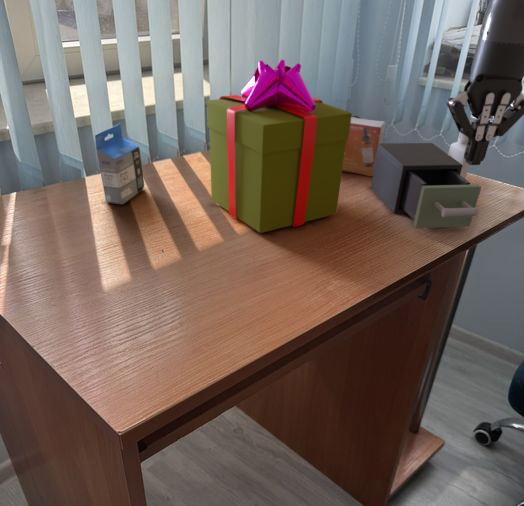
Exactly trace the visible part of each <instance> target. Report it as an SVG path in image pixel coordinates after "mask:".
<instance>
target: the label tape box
mask: <svg viewBox="0 0 524 506" xmlns="http://www.w3.org/2000/svg"><path fill="white" fill-rule="evenodd" d="M122 130H123V129H122V123H117V124H116V125H114V126H111V127H109V128H106V129H105V130H102V131H100V132H98V133H96V134H95V135H94V141H95V149H96V155H97V161H98V166H99V171H100V178H101V182H102V188H103V194H104V199H105V202H106V203H111V204H113V205H114V204H116V205H124V204H126V203H127V202H128V201H130V200H131V199H132V198H134V197H135V196H136V195H138V194H140V193H141V192H142V191H143V190H145V189H146V187H145V181H144V180H145V179H144V173H143V172H144V171H143V166H142V157H141V150H140V147H139V146H138V145H137V144H135V143H133V142H132V141H130V140H128V139H126V138H125V137H123V136H122V135H123V133H122ZM109 135H110V136H111V135H112V137H110V138H108V139H106V138H107V137H108V136H109Z"/></svg>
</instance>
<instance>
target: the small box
mask: <svg viewBox="0 0 524 506" xmlns="http://www.w3.org/2000/svg"><path fill="white" fill-rule="evenodd" d="M360 118H361V117H360ZM360 118H355V117H351V123H350V130H349V138H348V140H346V143H345V151H344V159H343V166H342V172H347V173H354V174H359V175H363V176H368V177H373V172H374V166H375V161H376V155H377V149H378V144H383V140H384V133H385V129H386V121H384V120H374V119H367V118H361V119H360Z"/></svg>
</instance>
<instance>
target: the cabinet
mask: <svg viewBox="0 0 524 506" xmlns="http://www.w3.org/2000/svg"><path fill="white" fill-rule="evenodd" d="M462 166H463V165H462V164H461V163H459V162H458V161H457V160H455V159H454V158H452V157H451V156H450V155H448V153H447V152H445V151H444V150H443V149H441V148H440V147H438V146H437V145H436V144H434V143H433V142H400V143H399V142H396V143H395V142H393V143H391V142H390V143H385V142H384V143H383V142H382V144H378V149H377V155H376V161H375V166H374V172H373V176H372V179H371V184H370V189H371V190H372V191H373V192H374V193H375V194H376V196H377V197H378V198H379V199H380V200H381V201H382V202H383V203H384V204H385V206H386V207H387V208H388V209H389V210H390V211H391V212H392V214H395V215H396V214H407V213H406V212H405V210H404V209H403V208H402V207H401V206H400V205H399V204H400V199H401V194H402V190H403V185H404V180H405V175H406V170H437V169H453V170H454V171H455V172H456V173H458V174H459V175H460V173H461V169H462Z"/></svg>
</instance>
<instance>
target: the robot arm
mask: <svg viewBox="0 0 524 506" xmlns="http://www.w3.org/2000/svg"><path fill="white" fill-rule="evenodd" d="M523 79H524V0H489V2H488V5H487V7H486V10H485V12H484V15H483V18H482V23H481V27H480V29H479V35H478V39H477V43H476V47H475V51H474V55H473V59H472V63H471V67H470V76H469V79H468V81H467V82H466V84H465V85H464V87H463V88H464V89H463V92H461V93H460V94H458V95H457V96H455V97H449V98H448V99H447V100H446V106H447V108H448V110H449V112H450V115H451V117H452V119H453V122H454V123H455V124H454V125H455V126H456V128H457V130H458V132H459V133H460V132H461V133H462V134H464V135H465V136H467V137H468V142H467V146H466V149H465V153H464V159H466V162H467V163H468V164H469V166H480V165H481V163H482V162H483V161H484V160H485V158H486V155H487V151H488V148H489V144H490V142H491V141H492V139H494V138H497V137H503V136H504V135H505V134H506V133H507V132H509V130H510V129H511V128H513V126H514V125H515V124H516V123H517V122H518V121H519V120H520V119H522V117H524V95H523V89H524V87H523ZM468 107H469V110H470V112H469V118H468V115H467V112H466V110H467V108H468Z"/></svg>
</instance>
